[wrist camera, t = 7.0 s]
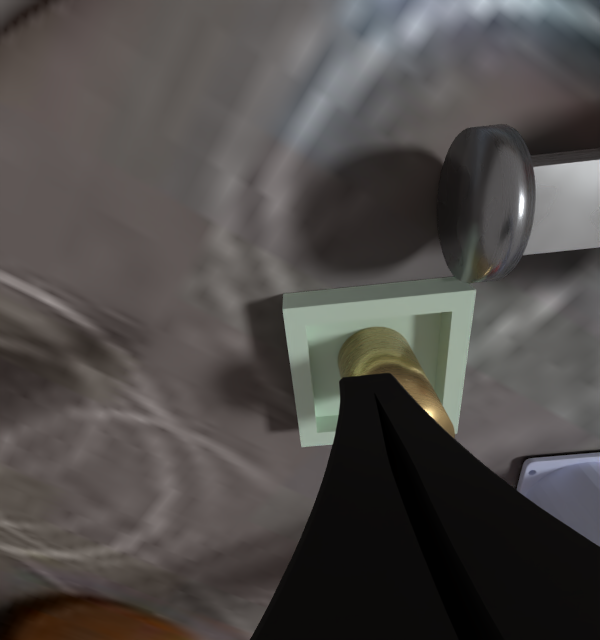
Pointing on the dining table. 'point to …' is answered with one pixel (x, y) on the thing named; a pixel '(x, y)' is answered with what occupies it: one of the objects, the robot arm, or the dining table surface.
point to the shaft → (513, 202)
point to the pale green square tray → (375, 311)
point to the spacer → (391, 367)
